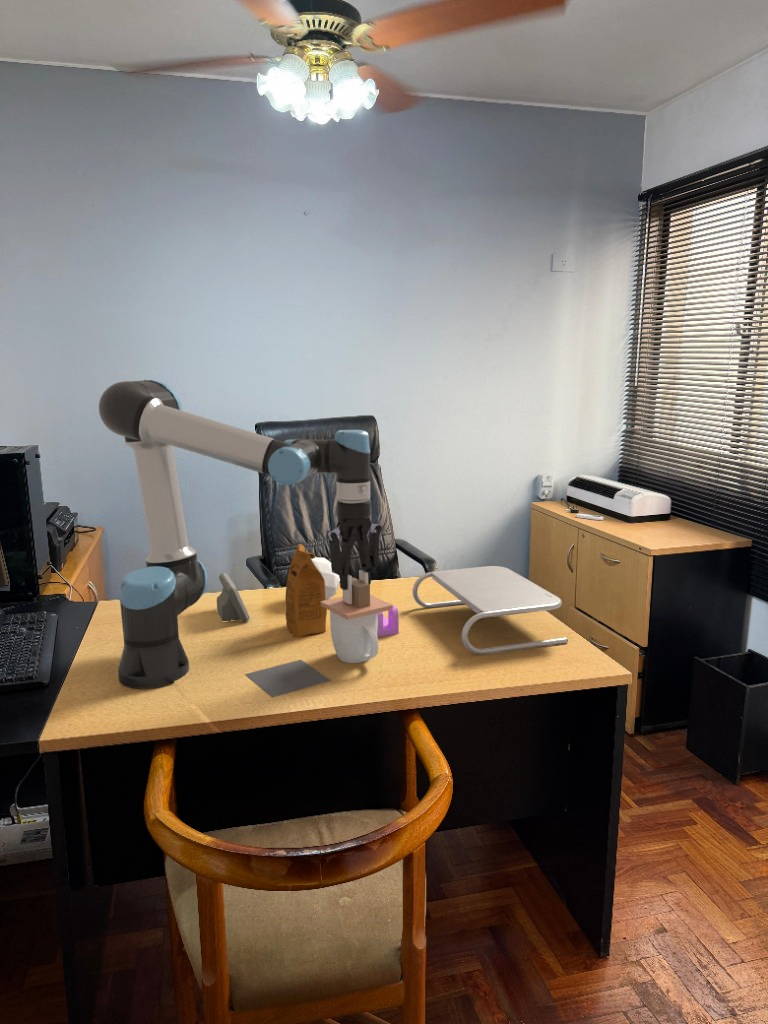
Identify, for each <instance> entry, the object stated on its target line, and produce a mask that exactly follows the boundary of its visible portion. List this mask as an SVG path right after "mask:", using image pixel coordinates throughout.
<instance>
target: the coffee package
mask: <svg viewBox="0 0 768 1024" xmlns="http://www.w3.org/2000/svg"><path fill="white" fill-rule="evenodd" d="M315 557H316V555H315V554H314V553H311V552H308V551H306V547H305V546H304V545H303V544H302V543H299V544H297V546H296V551H295V552H294V556H293V558H292V561H291V563H290V565H289V570H288V574H287V582H286V587H285V588H286V589H285V621H286V627H287V629H288V632H289V634H290V635H293V636H294V637H296V638H297V637H298V638H301V637H306V636H309V635H317V634H321V633H324V632H326V631H327V624H326V623H327V622H326V621H327V614H328V609H326V608H324V607H323V606H321V601H325V599H326V596H325V580H324V578H323V576H322V575H321V573H320V572H319V570H318V569H317V568H316V566H315V565H314V563H313V562H312V559H314V558H315Z"/></svg>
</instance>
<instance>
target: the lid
mask: <svg viewBox="0 0 768 1024" xmlns="http://www.w3.org/2000/svg"><path fill="white" fill-rule="evenodd" d="M321 606H323V607H324V608H326V609H327V611H328V610H329V612H330V611H332V612H334V613H336V614H338V615H339V616H341V617H343V618H345V619H347V620H350V619H354V618H358V617H362V616H367V615H371V614H375V613H379V612H383V613H384V612H386V611H387V612H388V610H392V609H393V606H394V605H393V604H391V603H390V602H387V601H384V600H383V599H381V598H378V597H376V596H374V595H372V594H371V584H370V585H369V584H367V583H365V582H363V581H360V580H359V578H358V579H357V578H356V577H352V604H348V603H346V602H344V601H343V596H339V597H335V598H329V599H328V600H325V601H321Z"/></svg>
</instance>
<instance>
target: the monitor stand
mask: <svg viewBox="0 0 768 1024" xmlns="http://www.w3.org/2000/svg"><path fill="white" fill-rule="evenodd" d="M428 578H431V579H432V580H433V581H435V583H437V584H438V585H440V586H441V587H442V588H444V589H445V590H446V591H448V592H449V593H450V594H452V595H453V596H454V597H455V598H456V599H454V600H447V601H445V600H444V601H437V602H429V603H427V602H424V601H423V600H421V598H420V597H419V595H418V590H419V589H418V588H419V587H420V585H421V583H422V582H423V581H424V580H426V579H428ZM411 594H412V597H413V599H414V602H416V603H417V604H418V605H419V606H421V607H422V608H426V609H432V608H433V609H434V608H444V607H451V606H459V605H460V606H461V605H465V606H466V607H468V608H469V609H471V611H474V612H475V613H476V614H474V615H473V616H472V617H470V618H469V619H468V620H467V621H466V622H465V624H464V625H463V628H462V630H461V641H462V644H463V646H464V647H465V648H466V650H468V651H469V652H471V653H473V654H475V655H488V654H499V653H503V652H504V653H505V652H511V651H512V652H513V651H518V650H527V649H533V648H541V647H552V646H553V647H554V646H556V645H565V644H568V642H569V640H568V638H567V637H559V638H553V639H546V640H538V641H530V642H523V643H516V644H515V643H514V644H509V645H500V646H493V647H486V648H477V647H474V645H472V644H471V642H470V641H469V637H468V636H469V635H468V634H469V631H470V629H471V627H472V626H473V625H474V624H475V623H476V622H477V621H478V620H481V619H487V618H494V617H502V616H510V615H519V614H529V613H535V612H545V611H552V610H553V611H554V610H556V609H559V608H560V607H561V606H562V604H563V602H562V599H561V598H560V597H558V596H557V595H555V594H553V593H551V592H549V591H548V590H546V589H544V588H543V587H541V586H540V585H538V584H536V583H534V582H532V581H531V580H529V579H527V578H525V577H524V576H522V575H520V574H519V573H516V571H513V570H511V569H510V568H507V567H505V566H500V565H499V566H498V565H489V566H488V565H486V566H476V567H467V568H464V567H463V568H454V569H447V570H446V569H445V570H436V571H435V570H433V571H430V572H426V573H423V574H422V575H420V576H419V577H418V578H416V581H415V583H413V587H412V593H411Z"/></svg>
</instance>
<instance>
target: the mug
mask: <svg viewBox="0 0 768 1024" xmlns="http://www.w3.org/2000/svg"><path fill="white" fill-rule="evenodd" d="M329 621H330V623H329V624H330V625H329V626H330V634H331V635H330V636H331V637H330V638H331V642H332V645H333V648H334V652H335V654H336V655H337V657H338V659H339V660H340V661H341V662H343V663H347V664H359V663H363V662H366V661H369V660H371V659H374V658H375V657H377V655H378V653H379V638H378V636H377V630H378V615H377V613H375V614H371V615H367V616H362V617H358V618H354V619H350V620H347V619H345V618H343V617H341V616H339V615H338V614H336V613H334V612H332V611H330V610H329Z"/></svg>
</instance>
